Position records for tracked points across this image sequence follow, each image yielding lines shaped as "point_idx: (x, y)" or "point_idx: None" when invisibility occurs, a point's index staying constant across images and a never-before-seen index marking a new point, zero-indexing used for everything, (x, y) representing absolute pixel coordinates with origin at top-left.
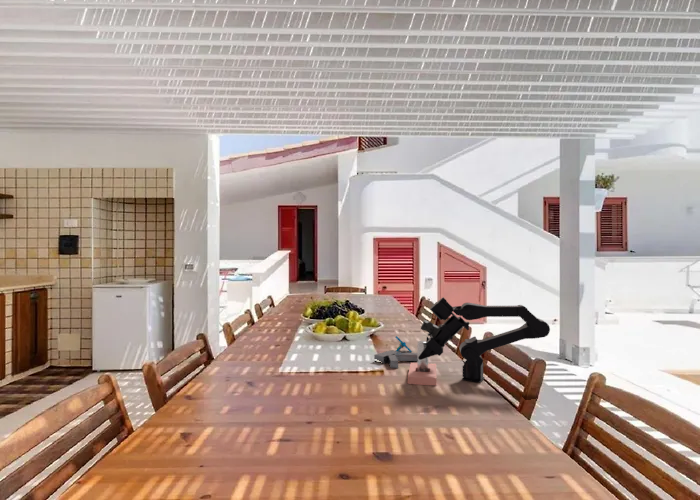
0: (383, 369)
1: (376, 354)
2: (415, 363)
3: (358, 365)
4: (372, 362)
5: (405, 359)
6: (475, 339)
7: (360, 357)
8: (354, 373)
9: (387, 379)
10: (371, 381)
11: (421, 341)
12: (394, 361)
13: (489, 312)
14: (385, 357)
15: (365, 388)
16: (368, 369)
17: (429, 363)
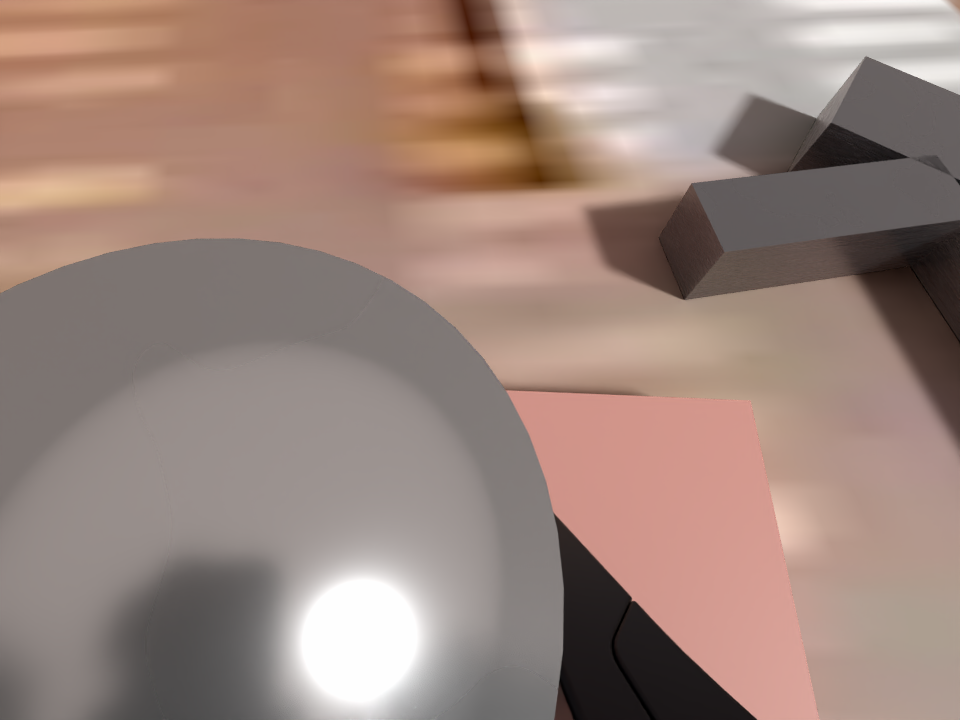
0: (600, 186)
1: (883, 69)
2: (724, 463)
3: (659, 35)
4: (790, 107)
5: None
6: None
7: (895, 35)
8: (435, 25)
9: (280, 224)
10: (222, 122)
11: (321, 470)
12: (702, 222)
13: None
14: (853, 148)
15: (36, 97)
16: (567, 92)
17: (814, 698)
